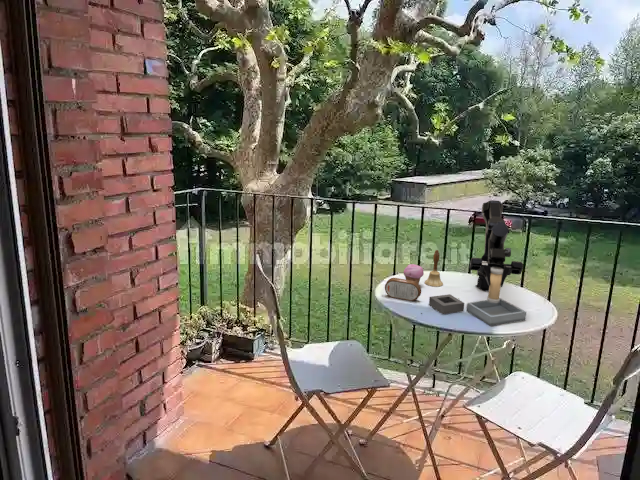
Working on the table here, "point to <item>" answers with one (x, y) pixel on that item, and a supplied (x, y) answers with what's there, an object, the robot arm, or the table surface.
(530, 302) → the table surface
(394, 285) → the tin
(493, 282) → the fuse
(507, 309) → the parts tray
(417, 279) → the cupcake
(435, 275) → the hand bell
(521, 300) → the table surface
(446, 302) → the frame
